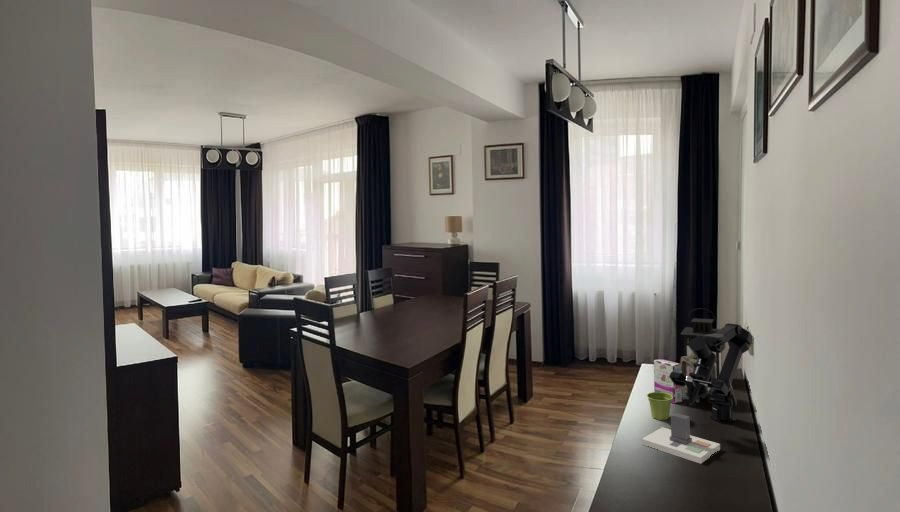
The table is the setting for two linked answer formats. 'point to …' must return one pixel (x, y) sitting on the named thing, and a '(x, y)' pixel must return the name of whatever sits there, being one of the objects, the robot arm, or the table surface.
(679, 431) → the handle
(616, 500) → the table surface
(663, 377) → the candy bar box
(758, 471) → the table surface
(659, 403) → the plant pot
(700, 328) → the lantern
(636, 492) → the table surface
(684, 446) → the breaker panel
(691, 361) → the tabletop clock
